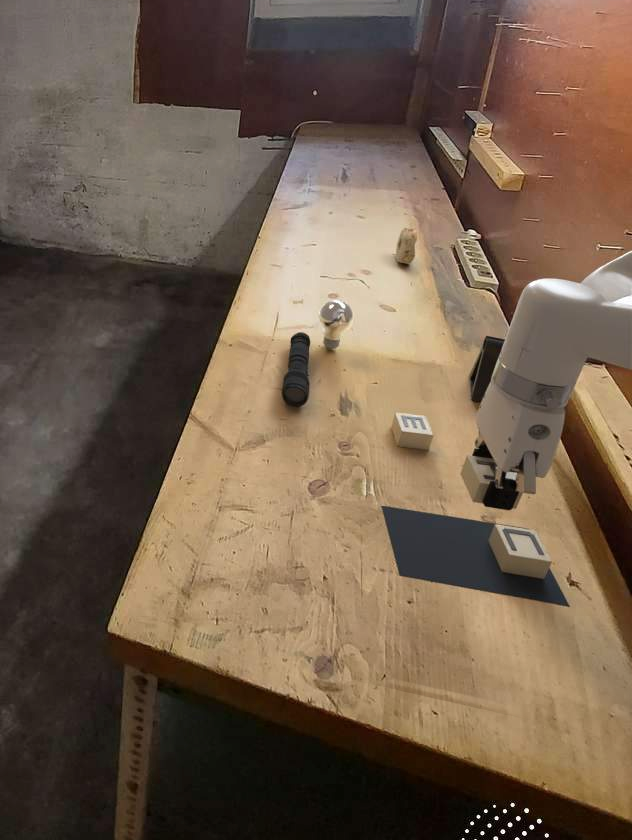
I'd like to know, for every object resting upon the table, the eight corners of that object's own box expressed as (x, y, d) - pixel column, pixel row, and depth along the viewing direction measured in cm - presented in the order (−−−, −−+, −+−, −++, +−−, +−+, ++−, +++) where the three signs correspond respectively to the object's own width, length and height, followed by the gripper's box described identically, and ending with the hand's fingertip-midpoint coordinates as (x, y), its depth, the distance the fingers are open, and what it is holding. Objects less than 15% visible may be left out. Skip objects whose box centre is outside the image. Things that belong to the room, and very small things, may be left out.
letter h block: (501, 479, 77) (509, 460, 75) (516, 509, 72) (525, 489, 71) (460, 473, 78) (467, 454, 76) (472, 502, 73) (480, 482, 72)
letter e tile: (421, 430, 102) (425, 415, 100) (429, 450, 97) (433, 434, 96) (391, 427, 103) (395, 411, 101) (397, 446, 98) (401, 430, 97)
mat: (528, 530, 82) (529, 528, 82) (569, 608, 72) (570, 606, 72) (380, 507, 87) (381, 505, 87) (399, 577, 77) (399, 575, 76)
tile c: (527, 547, 80) (535, 529, 78) (544, 579, 75) (552, 561, 74) (488, 540, 81) (495, 523, 79) (501, 571, 76) (509, 554, 75)
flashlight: (279, 404, 109) (282, 383, 107) (287, 347, 127) (290, 328, 124) (306, 409, 108) (310, 389, 105) (310, 351, 125) (314, 332, 123)
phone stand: (508, 409, 106) (527, 357, 100) (470, 400, 108) (488, 348, 103) (504, 383, 113) (522, 333, 107) (469, 375, 115) (485, 325, 110)
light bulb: (347, 359, 122) (357, 312, 116) (313, 354, 124) (321, 307, 118) (345, 342, 128) (355, 296, 122) (313, 338, 130) (321, 292, 124)
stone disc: (392, 253, 169) (399, 222, 164) (406, 254, 168) (413, 223, 163) (397, 268, 160) (405, 235, 156) (412, 269, 159) (420, 237, 155)
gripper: (609, 433, 58) (550, 550, 67) (536, 344, 73) (495, 448, 81) (526, 422, 60) (479, 538, 68) (471, 337, 75) (438, 440, 83)
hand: (488, 488), depth 75 cm, fingers closed on letter h block, 5 cm apart
